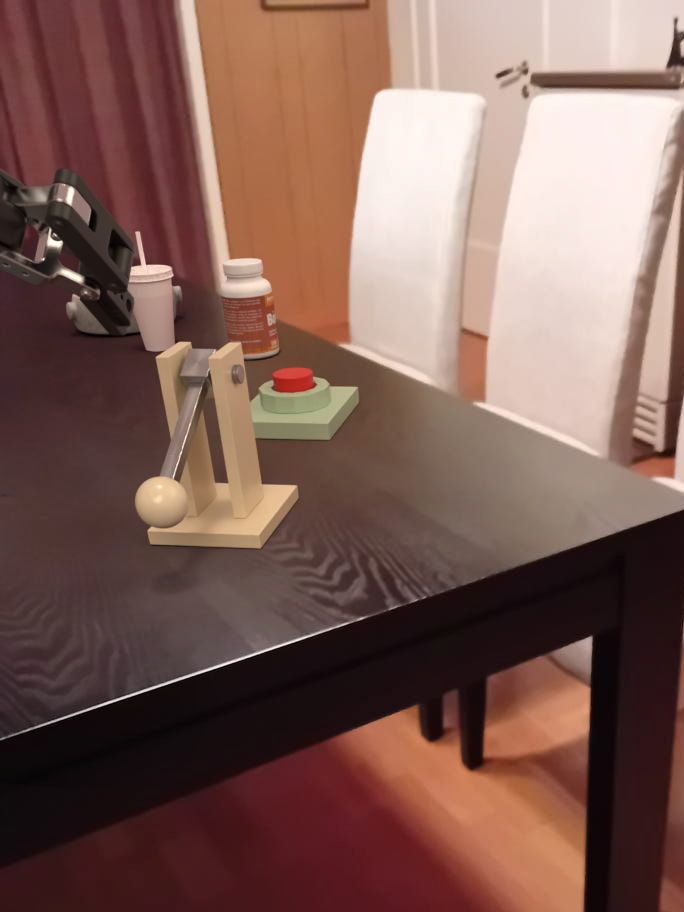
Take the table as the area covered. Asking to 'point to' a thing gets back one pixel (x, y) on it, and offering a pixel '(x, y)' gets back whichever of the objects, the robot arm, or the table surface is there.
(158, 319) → the smoothie
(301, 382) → the stop button
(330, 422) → the stop panel
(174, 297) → the dish
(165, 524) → the switch lever
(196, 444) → the switch
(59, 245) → the robot arm
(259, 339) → the pill bottle
